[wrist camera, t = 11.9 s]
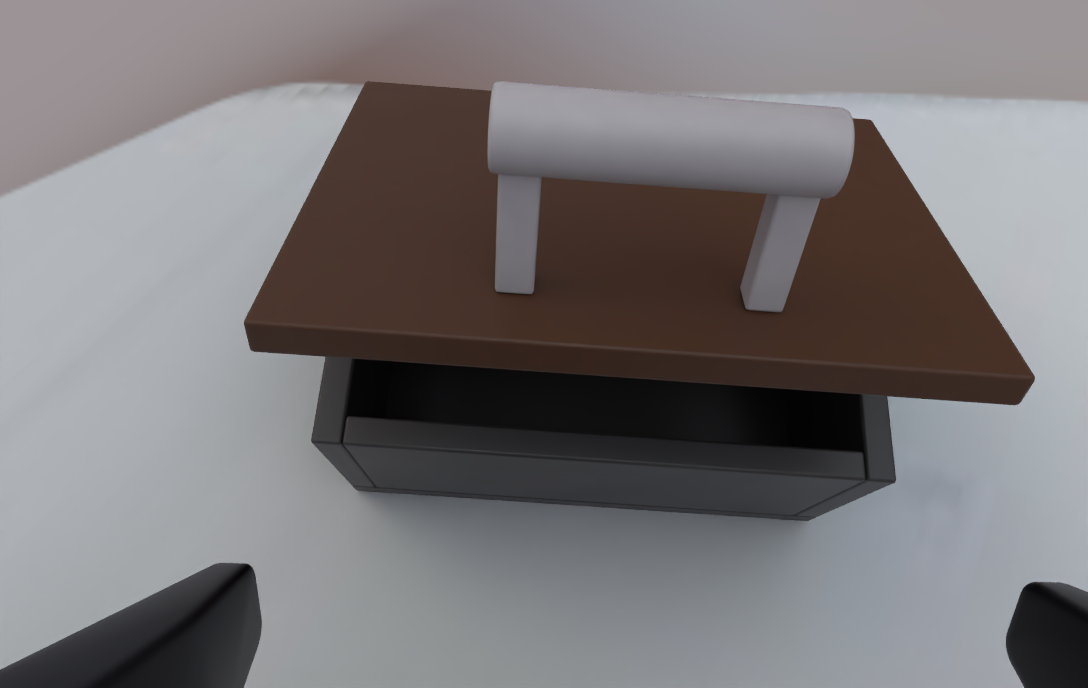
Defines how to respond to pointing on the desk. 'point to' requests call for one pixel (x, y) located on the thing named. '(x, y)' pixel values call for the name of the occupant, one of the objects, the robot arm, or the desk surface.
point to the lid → (630, 247)
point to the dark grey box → (600, 439)
